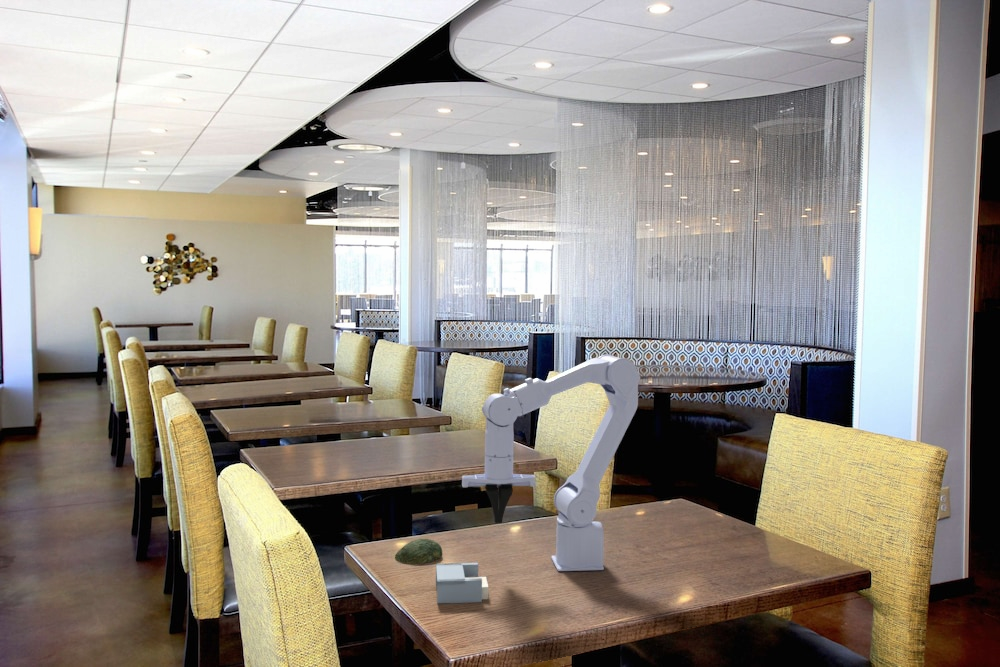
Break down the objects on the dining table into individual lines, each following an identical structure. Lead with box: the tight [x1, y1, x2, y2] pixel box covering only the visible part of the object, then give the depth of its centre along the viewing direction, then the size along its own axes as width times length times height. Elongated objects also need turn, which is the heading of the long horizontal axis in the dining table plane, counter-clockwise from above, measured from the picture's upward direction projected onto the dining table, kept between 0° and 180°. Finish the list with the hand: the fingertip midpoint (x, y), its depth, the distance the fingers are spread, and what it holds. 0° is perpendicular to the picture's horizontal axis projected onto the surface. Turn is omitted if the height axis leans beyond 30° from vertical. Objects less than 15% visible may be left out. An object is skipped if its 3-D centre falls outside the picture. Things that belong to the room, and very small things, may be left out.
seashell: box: [394, 538, 443, 565], centre depth 163 cm, size 10×4×10 cm
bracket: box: [435, 562, 483, 604], centre depth 144 cm, size 8×9×4 cm
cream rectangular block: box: [465, 576, 489, 600], centre depth 143 cm, size 8×5×3 cm, turn 96°
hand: (498, 521), depth 155 cm, fingers closed
